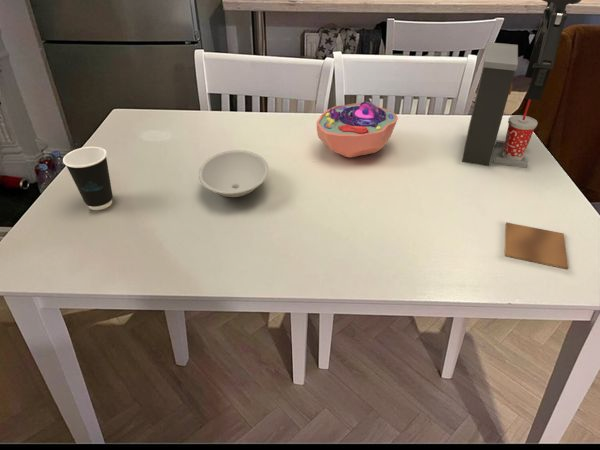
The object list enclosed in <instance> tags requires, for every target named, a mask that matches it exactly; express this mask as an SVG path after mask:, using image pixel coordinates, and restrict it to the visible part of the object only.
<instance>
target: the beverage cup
mask: <svg viewBox="0 0 600 450" xmlns="http://www.w3.org/2000/svg"><path fill="white" fill-rule="evenodd" d="M531 101H532V100H529V99H527V103H526V106H525V110H524V112H523V114H514V115H510V116H509V117H508V121H507V124H508V125H507V130H506V134H505V139H504V141H505V143H504V147H502V148H503V150H502V153H501V154H502V158H508V159H515V160H521V161H522V160H523V158H524V156H525V155H526V151H527V148H528V147H529V144H530V141H531V138H532V136H533V133H534V131H535V130H536V128H537V127H538V123H539V122H538V120H537V119H535V118H533V117H531V116H528V115H527V113H528V110H529V107H530V105H531V104H530V103H531Z"/></svg>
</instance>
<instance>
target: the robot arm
mask: <svg viewBox="0 0 600 450" xmlns="http://www.w3.org/2000/svg"><path fill="white" fill-rule="evenodd" d="M541 1H542V2H545V3H547V4H546V7H545V8H544V10H543V13H542V18H541V20H540V24H539V27H538V29H537V32H536V34H535V35H536V36H535V37H534V43H533V44H534V46H533V48H532V51H531V55H530V58H529V62H528V64H527V67H526V71H525V75H524V78H526V79H531V80H530V82H529V87H528V90H527V93H526V96H525V100H528V99H529V100H531V101H539V102H540V101H541V100H542V96H543V95H544V91H545V88H546V84H547V81H548V78H549V75H550V72H551V70H553V69H554V66H555V62H556V58H557V54H558V49H559V46H560V42H561V37H562V33H563V31H564V27H565V23H566V21H567V19H568V12H567V10H566V8H567V6H568V5H569V4H570V5H577V4H579V3H580V2H582V0H541Z"/></svg>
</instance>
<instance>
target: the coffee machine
mask: <svg viewBox="0 0 600 450" xmlns="http://www.w3.org/2000/svg"><path fill="white" fill-rule="evenodd" d="M485 47H486V48H485V52H484V59H483V64H482V68H481V73H480V77H479V81H478V86H477V91H476V95H475V99H474V103H473V108H472V111H471V117H470V121H469V125H468V129H467V133H466V137H465V142H464V143H465V144H464V149H463V155H462V159H461V162H462V163H467V164H472V165H473V164H474V165H478V166H479V165H480V166H485V167H486V166H487V167H490V164H491V161H492V156H493V152H494V151H495V150H494V149H495V147H502V148H504V143H505V140H500V139H497V138H498V135H499V131H500V128H501V123H502V120H503V116H504V113H505V110H506V105H507V102H508V98H509V96H510V95H511V94H512V90H513V86H514V83H513V80H514V76H515V72H516V71H517V69H518V66H519V45H518V44H510V43H501V42H486V46H485ZM493 163H494V164H499V165H505V166H512V167H517V168H524V169H527V167H528V164H529V163H528V160H527V161H526V160H522V159H521V160H515V159H508V158H504V157H503V156H502V157H501V156H495V157H494V160H493Z"/></svg>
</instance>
